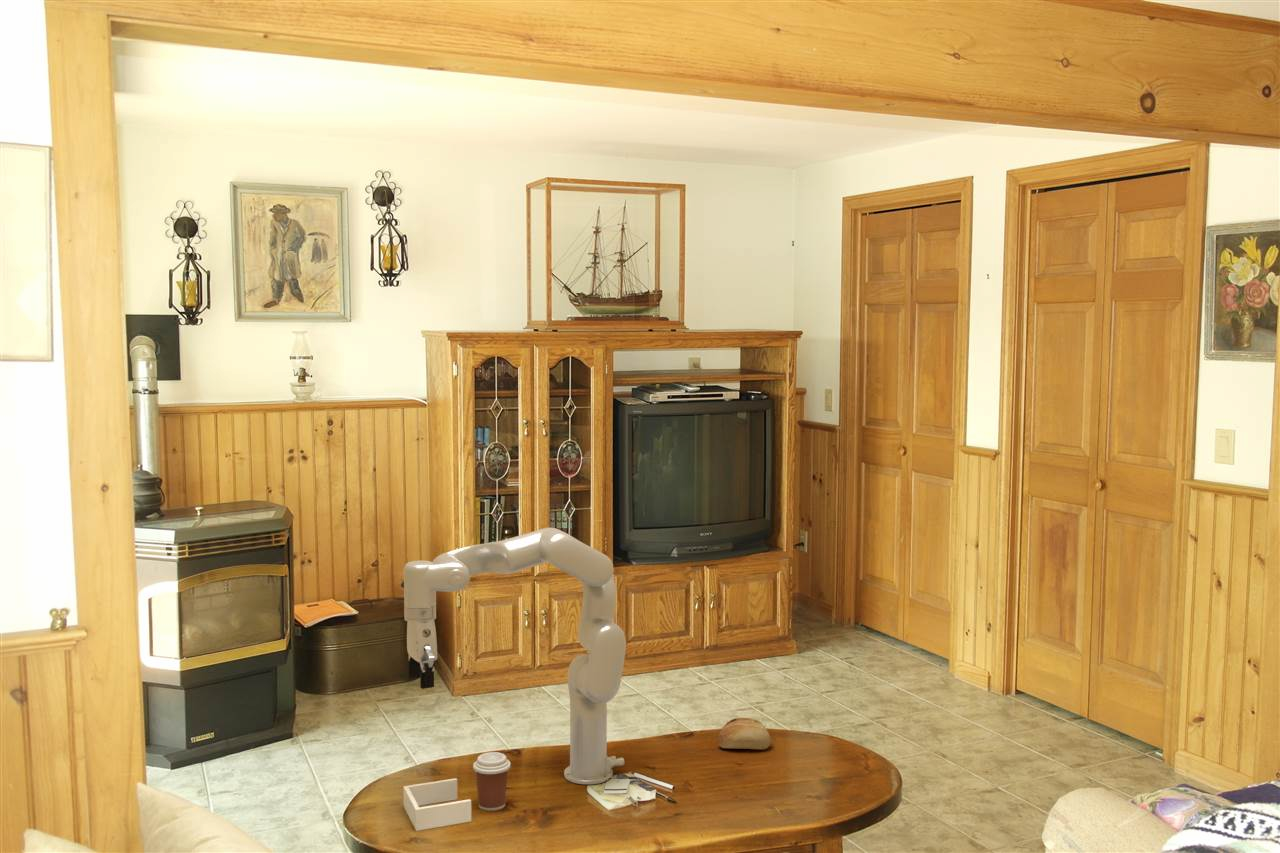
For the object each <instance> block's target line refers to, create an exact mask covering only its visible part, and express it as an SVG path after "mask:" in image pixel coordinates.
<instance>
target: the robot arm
mask: <svg viewBox="0 0 1280 853" xmlns="http://www.w3.org/2000/svg"><path fill="white" fill-rule="evenodd" d="M544 564H550V565H552V566H553V567H555V568H558V570H561V571H562V572H564V573H566V574H568V575H570V576H572V577H573V578H576V579H577V580H578V581H579V582H580V584H581V587H582V593H583V594H582V606H581V611H580V619H579V624H578V630H577V639H578V643H579V644H580V645H581V647H582V648H583V649H585V650H586V651H588V654H587V653H586V654H581V655H578V656H576V657H575V658H574V659H573V660H572V661H571V662H570V664H569V665H568V668H567V675H566V676H567V686H568V688H567V689H568V695H569V742H570V743H569V748H570V749H569V756H570V757H569V765H568V766H567V767H565V769H564V771H563V776H564V778H565V780H567V781H569V782H570V783H573V784H577V785H578V784H579V785H596V784H603V783H605V782H607V781H609V780H610V779H611V778H612V777H613V776H614V775H613V772H614V770H613V768H614V767H619V766H620V767H621V766H625V759H624V757H618V758H617V756H616V755H612V756H608V755H607V752H608V751H607V748H608V747H607V746H608V745H607V742H608V741H607V738H608V735H607V733H608V732H607V731H608V728H607V727H608V726H607V725H608V724H607V723H608V721H607V720H608V718H607V717H608V711H607V710H608V705H607V703H609V702H611V700H613V699H614V698H615V697H616V695H617V693H619V689H620V687H621V682H622V676H623V670H624V663H625V658H626V651H627V650H626V649H627V640H626V635H625V632H624V630H623V629H622V628H621V627H620V625H619V624H616V623H615V612H616V611H615V610H616V602H617V587H616V582H615V578H614V570H615V569H614V564H613V561H612V559H610V557H609V556H608V555H606V554H605V553H602V552H601V551H599V550H597V549H595V548H593V547H592V546H589V545H587V544H586V543H584V542H582V541H580V540H578V539H577V538H576V537H574V536H572V535H570V534H568V533H567V532H565V531H563V530H561V529H558V528H555V527H544V528H541V529H537V530H534V531H529V532H527V533H523V534H521V535H517V536H513V537H509V538H506V539H502V540H498V541H490V542H486V543H479V544H472V545H469V546H468V545H467V546H465V547H461V548H456V549H454V550H451V551H446V552H443V553H441V554H439V555H438V556H436V557H435V558H434V559H433V560H432V561H429V560H420V559H418V560H412V561H409V562H406V564H405V565H404V567H403V599H404V600H403V603H404V606H403V608H404V610H403V612H404V621H406V622H407V623H406V649H407V650H406V651H407V654H408V657H407V659H408V662H407V664H408V668H407V670H408V674H407V675H408V677H409V678H418V677H419V680H420V681H419V682H420V684H419V685H420V689H422V690H424V689H431V688H434V687H435V663H434V662H435V661H437V660H438V642H437V641H438V640H437V631H436V630H437V629H436V623H435V620H436V619H437V592H446V593H447V592H449V593H454V592H460V591H462V590H463V589H465V588H466V587H467V586H468V585H469V583H470V580H471V576H473V575H478V574H486V573H487V574H499V575H512V574H514V573H518V572H522V571H524V570H527V569H532V568H534V567H537V566H540V565H544ZM609 778H610V779H609ZM608 779H609V780H608ZM606 780H607V781H606Z"/></svg>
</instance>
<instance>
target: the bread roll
mask: <svg viewBox="0 0 1280 853" xmlns="http://www.w3.org/2000/svg"><path fill="white" fill-rule="evenodd" d="M716 739H717V744H718V746H719V747H720V748H722V749H736V750H737V749H738V750H742V749H743V750H762V751H763V750H767V749H768V748H769V747H770V746H771V744H772V739H771V735H770V733H769V731H768V729H767V728H766V726H765V725H764V724H763V723H762V722H761V721H759V720H758V719H755V718H751V717H735V718H732V719H730V720H729V721H727V722H726V723H725V724H724V725H723V726H722V728H721V729H720V731H719V734H718V736H717V738H716Z"/></svg>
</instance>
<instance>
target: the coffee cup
mask: <svg viewBox="0 0 1280 853" xmlns="http://www.w3.org/2000/svg"><path fill="white" fill-rule="evenodd" d="M476 759H477V760H476V761H475V762H473V765H472V770H474V772H475V775H476V785H477V786H476V788H477V797H478V807H479V809H480V810H483V811H489V812H490V811H499V810H502V809H504V808H505V807H506V798H507V797H506V796H507V795H506V794H507V783H508V772H509V770H510V769H511V761H510V760H509V759H507V756H506V754H504V753H503V752H496V751H490V752H484V753H481V754H479V755H478V756H477V758H476Z"/></svg>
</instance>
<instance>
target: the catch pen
mask: <svg viewBox="0 0 1280 853" xmlns="http://www.w3.org/2000/svg"><path fill="white" fill-rule="evenodd" d="M456 800H457V801H456ZM442 802H446V803H442ZM431 804H433V805H431ZM424 805H427V806H424ZM420 806H421V807H420ZM403 808H404V811H405V812H406V814H407V816H408V818H409V820H410V822H411V824H412V825H413V828H414V829H415V831H416V832H417V831H424V830H429V829H435V828H442V827H447V826H453V825H458V824H465V823H469V822H472V800H471V799H464V800H463V799H462V800H458V779H457V777H456V778H449V779H441V780H437V781H429V782H423V783H417V784H410V785H405V786H404V785H403Z"/></svg>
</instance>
